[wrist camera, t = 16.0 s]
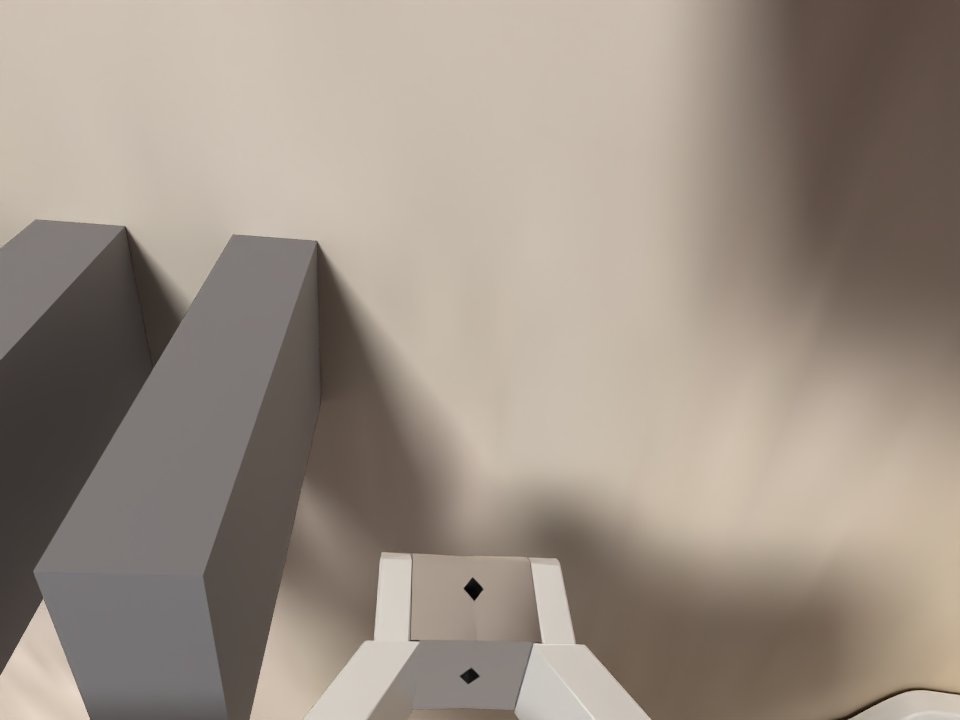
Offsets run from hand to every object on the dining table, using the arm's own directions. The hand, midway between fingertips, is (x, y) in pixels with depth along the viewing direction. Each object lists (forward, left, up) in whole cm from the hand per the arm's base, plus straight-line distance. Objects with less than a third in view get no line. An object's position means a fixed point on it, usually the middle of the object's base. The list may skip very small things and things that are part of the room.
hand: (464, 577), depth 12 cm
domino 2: (+5, 0, -8) cm, 9 cm away
